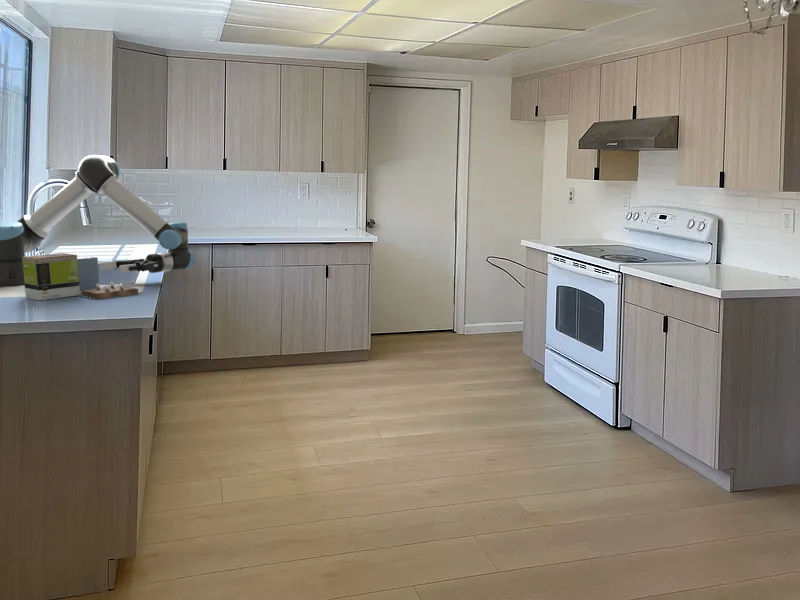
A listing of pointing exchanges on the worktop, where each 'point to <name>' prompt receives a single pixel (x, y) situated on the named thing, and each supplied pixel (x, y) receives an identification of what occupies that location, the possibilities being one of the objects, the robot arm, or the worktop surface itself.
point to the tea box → (51, 276)
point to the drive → (88, 272)
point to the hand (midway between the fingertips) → (109, 267)
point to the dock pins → (108, 286)
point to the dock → (109, 292)
